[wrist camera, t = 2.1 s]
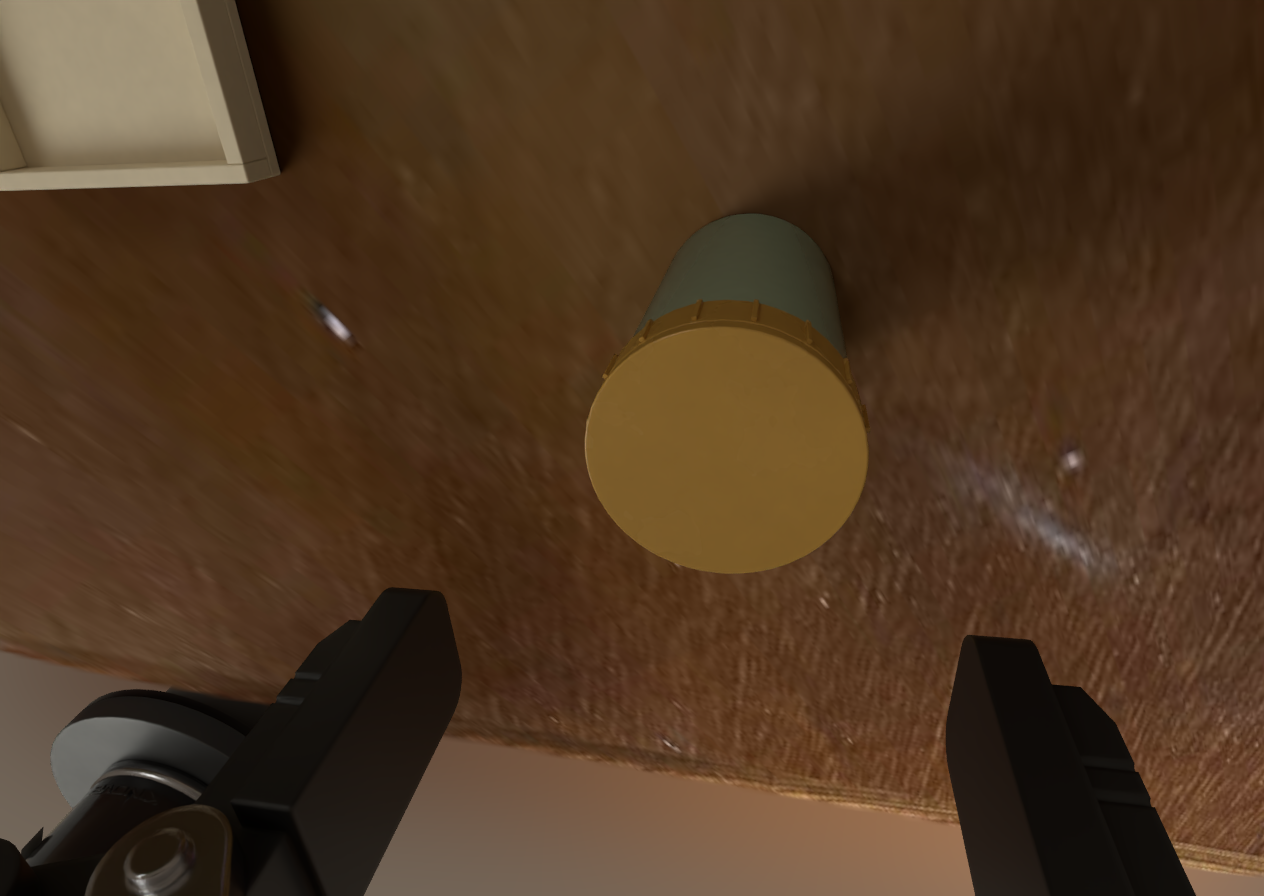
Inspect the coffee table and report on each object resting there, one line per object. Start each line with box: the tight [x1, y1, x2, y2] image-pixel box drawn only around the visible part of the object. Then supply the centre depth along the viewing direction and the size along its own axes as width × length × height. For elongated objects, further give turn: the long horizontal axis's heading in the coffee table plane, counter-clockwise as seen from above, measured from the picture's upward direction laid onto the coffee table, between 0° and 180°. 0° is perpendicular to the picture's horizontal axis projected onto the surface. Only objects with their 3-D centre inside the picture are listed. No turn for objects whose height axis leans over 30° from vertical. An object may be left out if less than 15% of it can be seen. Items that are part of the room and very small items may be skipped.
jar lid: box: [585, 299, 870, 574], centre depth 16 cm, size 6×6×2 cm
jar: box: [633, 214, 847, 359], centre depth 20 cm, size 6×6×10 cm
